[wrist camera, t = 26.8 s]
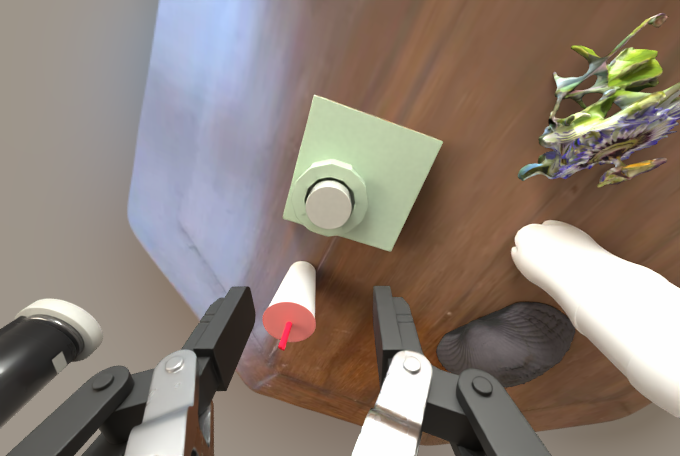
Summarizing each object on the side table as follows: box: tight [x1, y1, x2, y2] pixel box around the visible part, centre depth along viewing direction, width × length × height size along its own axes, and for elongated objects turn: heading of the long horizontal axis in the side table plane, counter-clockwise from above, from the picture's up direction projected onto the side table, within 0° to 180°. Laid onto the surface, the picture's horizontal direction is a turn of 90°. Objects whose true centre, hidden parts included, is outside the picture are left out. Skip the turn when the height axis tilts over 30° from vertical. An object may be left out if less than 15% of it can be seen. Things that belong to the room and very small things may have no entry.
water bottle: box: [511, 220, 680, 418], centre depth 21 cm, size 7×7×25 cm
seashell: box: [436, 302, 575, 387], centre depth 37 cm, size 14×19×8 cm
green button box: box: [283, 95, 443, 252], centre depth 27 cm, size 12×12×6 cm
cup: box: [263, 261, 316, 351], centre depth 30 cm, size 5×5×12 cm
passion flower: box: [518, 13, 680, 187], centre depth 23 cm, size 11×11×12 cm
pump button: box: [306, 180, 352, 229], centre depth 25 cm, size 4×4×2 cm
